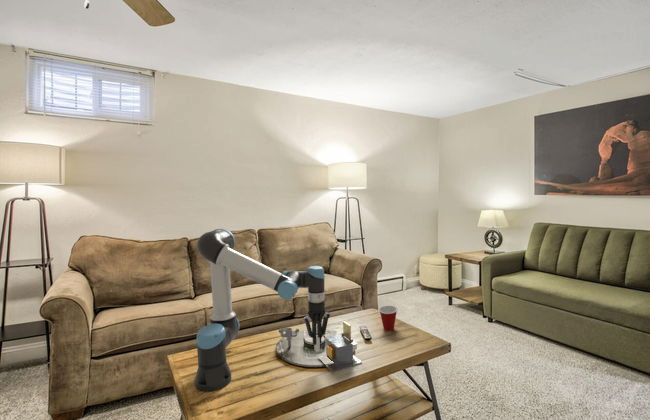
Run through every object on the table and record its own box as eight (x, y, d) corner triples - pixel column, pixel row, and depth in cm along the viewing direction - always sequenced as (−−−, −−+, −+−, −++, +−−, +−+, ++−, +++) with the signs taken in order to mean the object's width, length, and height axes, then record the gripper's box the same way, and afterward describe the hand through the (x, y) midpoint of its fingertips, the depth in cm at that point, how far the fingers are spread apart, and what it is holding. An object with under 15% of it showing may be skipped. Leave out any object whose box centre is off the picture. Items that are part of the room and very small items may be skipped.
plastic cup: (375, 328, 198) (374, 308, 198) (388, 323, 205) (388, 304, 204) (388, 334, 190) (387, 313, 189) (401, 329, 196) (401, 309, 195)
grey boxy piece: (331, 372, 153) (330, 348, 152) (318, 358, 165) (317, 336, 164) (361, 363, 160) (361, 339, 159) (346, 350, 172) (346, 329, 171)
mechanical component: (299, 348, 176) (298, 329, 175) (279, 349, 176) (278, 330, 176) (299, 346, 179) (298, 327, 178) (280, 346, 179) (279, 327, 179)
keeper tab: (351, 339, 161) (349, 340, 161) (344, 335, 167) (343, 335, 166) (350, 325, 161) (349, 325, 160) (344, 321, 166) (343, 321, 166)
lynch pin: (331, 359, 158) (331, 349, 157) (327, 355, 162) (326, 345, 162) (358, 352, 164) (357, 342, 164) (352, 348, 168) (352, 338, 168)
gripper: (306, 305, 149) (307, 357, 151) (332, 300, 155) (333, 350, 157) (300, 300, 156) (300, 350, 158) (325, 295, 162) (326, 344, 163)
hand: (317, 350), depth 157 cm, fingers closed
